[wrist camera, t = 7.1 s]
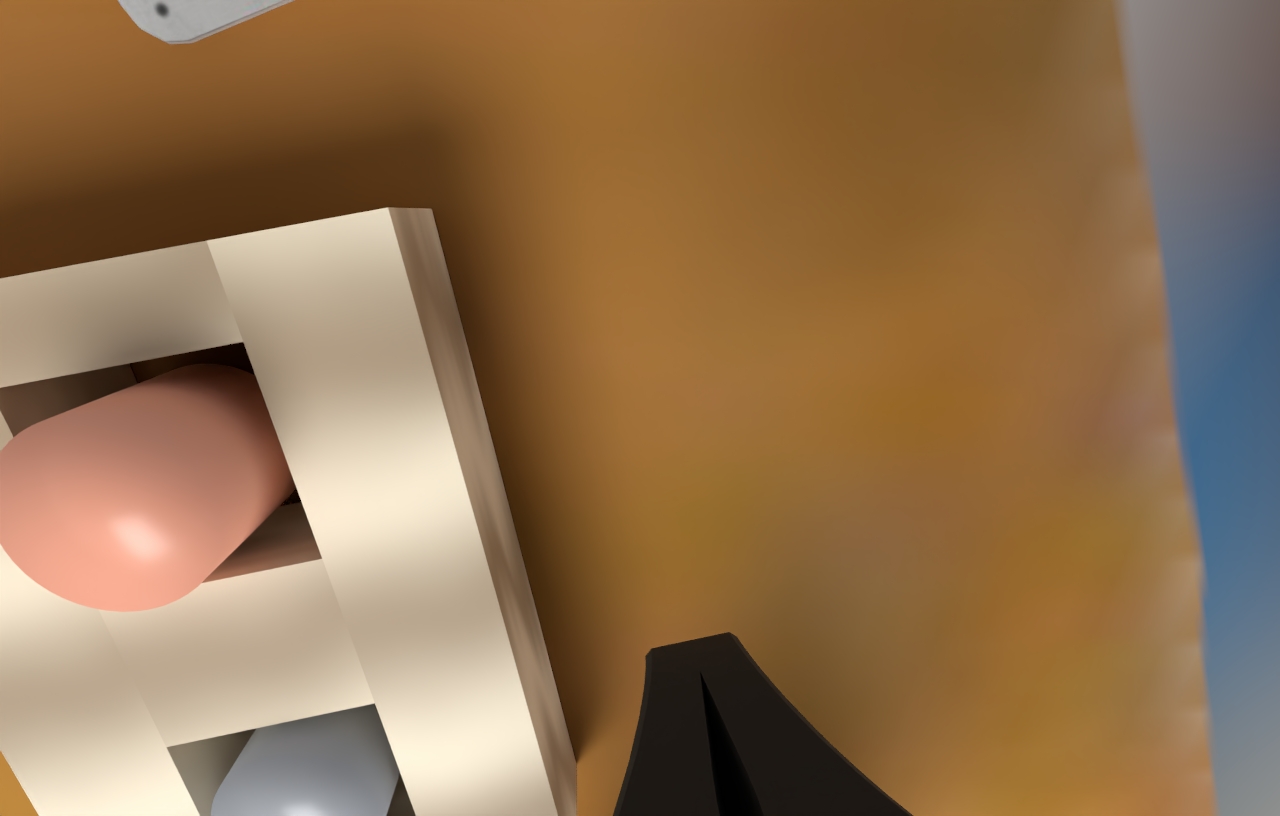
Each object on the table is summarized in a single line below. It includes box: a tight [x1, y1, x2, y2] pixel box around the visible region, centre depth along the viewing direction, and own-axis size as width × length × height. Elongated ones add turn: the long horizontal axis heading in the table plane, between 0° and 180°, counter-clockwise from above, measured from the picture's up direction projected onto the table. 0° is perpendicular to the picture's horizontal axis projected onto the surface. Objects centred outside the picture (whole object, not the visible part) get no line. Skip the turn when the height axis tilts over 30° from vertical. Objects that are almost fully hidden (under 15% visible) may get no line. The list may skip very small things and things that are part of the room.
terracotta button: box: [0, 364, 296, 612], centre depth 14 cm, size 4×4×4 cm
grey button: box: [211, 703, 400, 816], centre depth 18 cm, size 4×4×4 cm
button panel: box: [0, 207, 577, 816], centre depth 17 cm, size 18×12×4 cm, turn 10°
